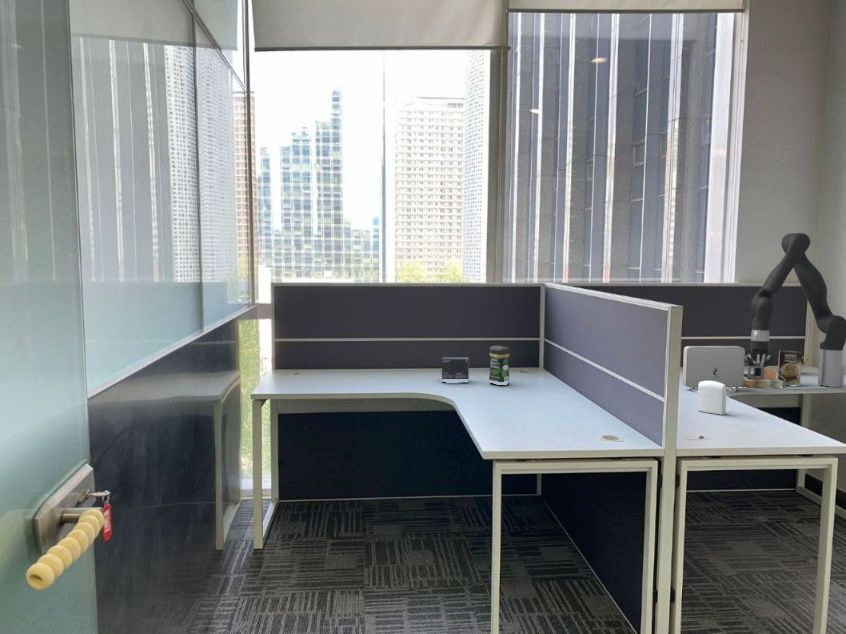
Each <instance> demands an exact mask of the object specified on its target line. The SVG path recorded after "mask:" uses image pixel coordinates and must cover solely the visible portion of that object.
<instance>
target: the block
mask: <svg viewBox="0 0 846 634" xmlns="http://www.w3.org/2000/svg"><path fill="white" fill-rule="evenodd" d="M777 377H778V369H773V368H764V379H777Z"/></svg>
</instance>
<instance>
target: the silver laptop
mask: <svg viewBox="0 0 846 634" xmlns="http://www.w3.org/2000/svg"><path fill="white" fill-rule="evenodd" d="M745 354H746V349H745V348H744V347H742V346H739V345H702V346H701V345H691V346H690V345H687V346H685V347H684V348H683V358H682V359H683V361H682V363H683V364H682V365H683V366H682V384H683V386H686V387H688V388H690V389H692V390H694V391H698V389H693V388H698V385H699V383H700V382H702V381H716V382H720V383H722V384H724V385H726V388H728V389H727V390H726V393H736V391H737V390H736V388H732V387H742V386H743V381H744V374H745V365H744V363H745V360H746V359H745V356H746V355H745ZM690 389H689V390H690ZM729 389H731V390H732V391H731V390H729ZM692 390H691V391H692ZM694 391H693V392H694Z"/></svg>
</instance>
